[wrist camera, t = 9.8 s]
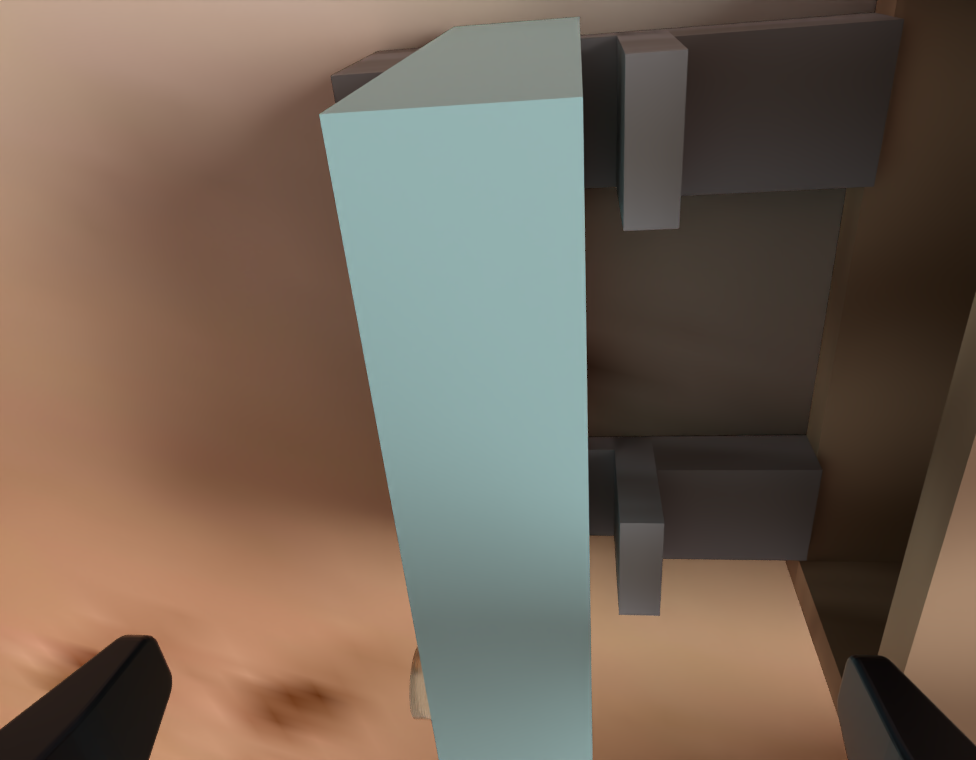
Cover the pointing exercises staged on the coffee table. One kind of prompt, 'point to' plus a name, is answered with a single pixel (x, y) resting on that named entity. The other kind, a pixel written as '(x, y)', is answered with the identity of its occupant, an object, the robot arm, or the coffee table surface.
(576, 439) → the door
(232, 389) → the coffee table surface
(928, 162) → the brown legged block
